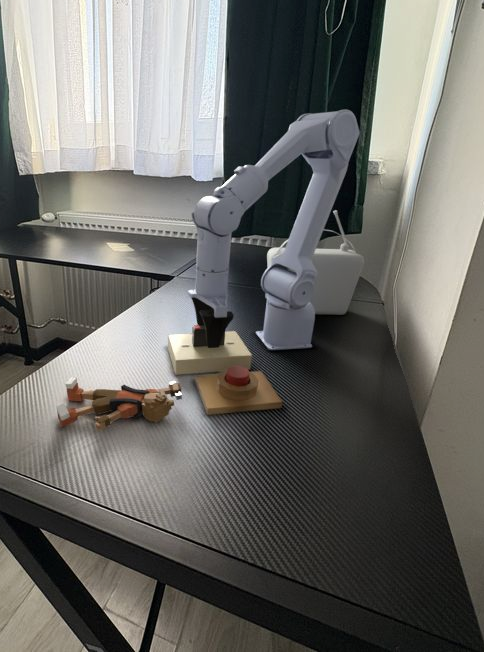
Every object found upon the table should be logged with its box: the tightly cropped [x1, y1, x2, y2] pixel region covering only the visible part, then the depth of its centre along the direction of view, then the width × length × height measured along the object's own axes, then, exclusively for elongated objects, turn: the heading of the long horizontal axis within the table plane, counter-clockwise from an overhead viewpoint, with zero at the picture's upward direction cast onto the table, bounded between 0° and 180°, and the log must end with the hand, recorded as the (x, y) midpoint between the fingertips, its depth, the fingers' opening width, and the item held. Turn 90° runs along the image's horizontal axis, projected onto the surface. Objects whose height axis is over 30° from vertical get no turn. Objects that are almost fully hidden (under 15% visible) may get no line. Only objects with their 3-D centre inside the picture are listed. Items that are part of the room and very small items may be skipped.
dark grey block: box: [191, 324, 226, 347], centre depth 71 cm, size 6×2×4 cm, turn 99°
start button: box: [226, 366, 250, 386], centre depth 61 cm, size 4×4×2 cm
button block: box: [194, 369, 283, 416], centre depth 61 cm, size 12×9×3 cm
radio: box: [266, 209, 365, 316], centre depth 92 cm, size 22×8×25 cm, turn 88°
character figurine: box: [56, 376, 183, 432], centre depth 56 cm, size 12×5×18 cm
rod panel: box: [167, 330, 253, 376], centre depth 72 cm, size 14×10×3 cm
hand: (208, 337), depth 71 cm, fingers open, 7 cm apart
